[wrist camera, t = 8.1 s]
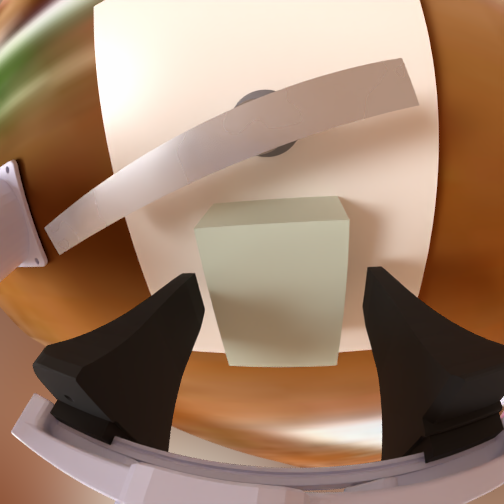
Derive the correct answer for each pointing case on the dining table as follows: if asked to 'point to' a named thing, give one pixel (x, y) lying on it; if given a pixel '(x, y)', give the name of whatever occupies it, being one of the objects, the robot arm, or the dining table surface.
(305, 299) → the cover
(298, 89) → the t key
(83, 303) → the dining table surface
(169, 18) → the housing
